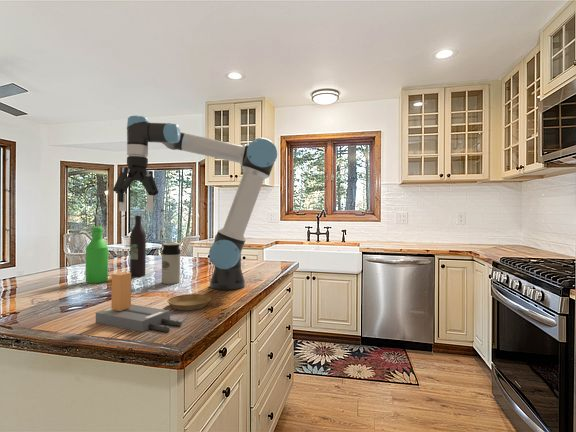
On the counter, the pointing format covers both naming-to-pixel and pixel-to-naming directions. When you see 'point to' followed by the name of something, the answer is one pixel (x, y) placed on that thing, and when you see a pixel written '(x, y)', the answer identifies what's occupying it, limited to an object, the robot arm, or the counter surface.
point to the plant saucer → (189, 301)
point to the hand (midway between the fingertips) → (137, 211)
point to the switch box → (137, 318)
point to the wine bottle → (137, 249)
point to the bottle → (96, 258)
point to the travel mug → (170, 263)
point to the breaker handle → (121, 291)
